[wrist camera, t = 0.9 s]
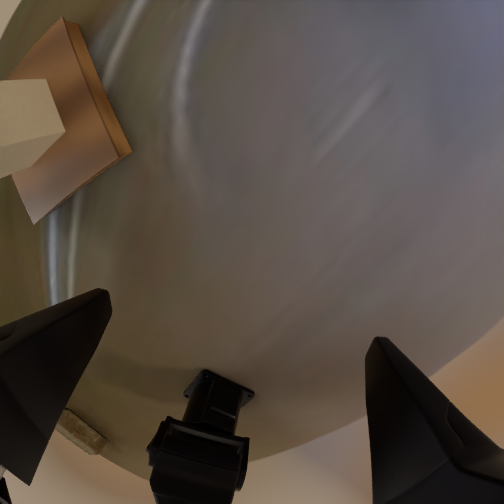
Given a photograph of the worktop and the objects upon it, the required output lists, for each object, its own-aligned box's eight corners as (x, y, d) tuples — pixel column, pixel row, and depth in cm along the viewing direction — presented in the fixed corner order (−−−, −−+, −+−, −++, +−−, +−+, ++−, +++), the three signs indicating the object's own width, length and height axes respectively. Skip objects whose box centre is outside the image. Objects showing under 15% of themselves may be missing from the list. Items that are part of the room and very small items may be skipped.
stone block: (98, 440, 48) (90, 456, 43) (58, 408, 45) (48, 424, 40) (109, 439, 46) (100, 457, 41) (66, 406, 43) (55, 423, 38)
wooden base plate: (136, 152, 20) (119, 157, 18) (50, 215, 24) (33, 225, 21) (79, 21, 15) (61, 16, 13) (5, 102, 19) (-11, 105, 16)
